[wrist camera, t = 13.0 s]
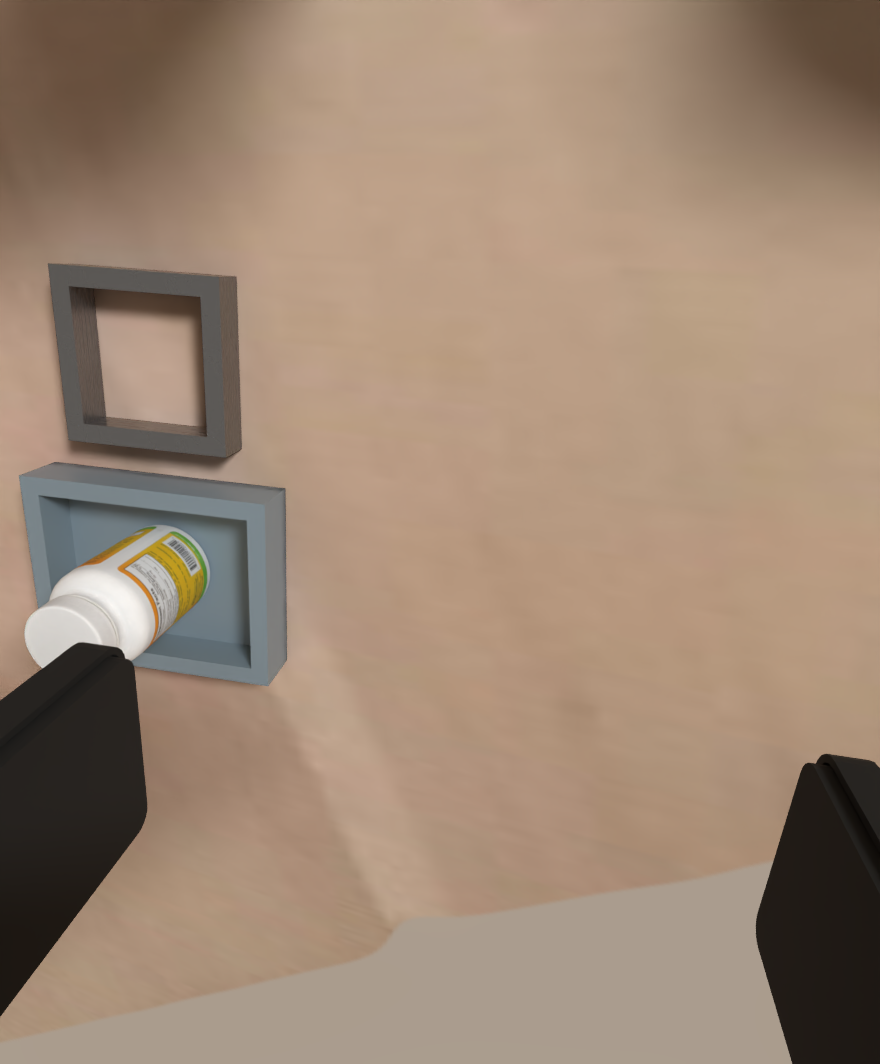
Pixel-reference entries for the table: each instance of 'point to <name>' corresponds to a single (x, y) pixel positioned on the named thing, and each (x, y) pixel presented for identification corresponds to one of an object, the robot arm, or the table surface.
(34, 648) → the supplement bottle
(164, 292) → the cradle
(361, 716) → the table surface
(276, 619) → the tray
